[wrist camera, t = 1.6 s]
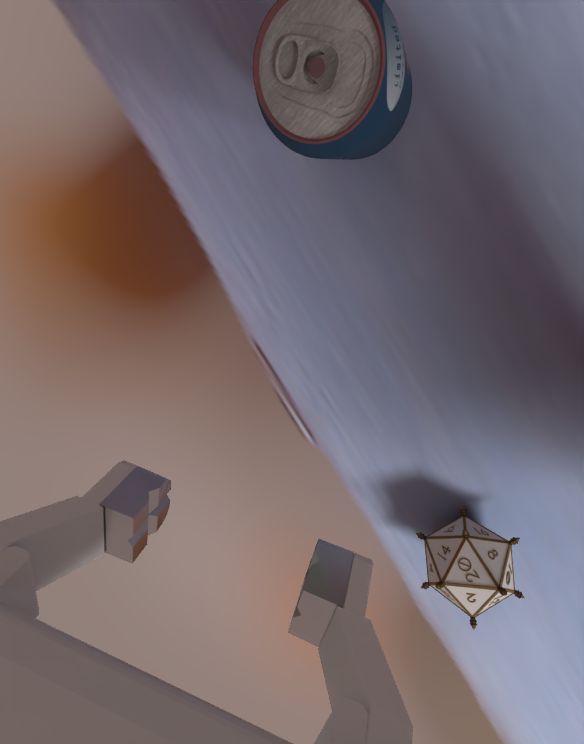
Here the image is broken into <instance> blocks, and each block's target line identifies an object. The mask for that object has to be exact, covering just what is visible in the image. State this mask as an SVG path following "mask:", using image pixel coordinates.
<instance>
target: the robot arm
mask: <svg viewBox="0 0 584 744" xmlns="http://www.w3.org/2000/svg"><path fill="white" fill-rule="evenodd" d="M170 490H171V480H169V479H167V478H164V477H162V476H160V475H158V474H155V473H153V472H151V471H148V470H146V469H143V468H141V467H139V466H136V465H134V464H132V463H129V462H127V461H121V462H119V463H118V464H117V465H115V466H114V467H113V468H112V469H111V470H110V471H109V472H108V473H107V474H106V475H105V476H104V477H103V478H102V479H101V480H100V481H99V482H98V483H96V484H95V485H94V486H93V487H92V488H91V489H90V490H89V491H88V492H87V493H86V494H85V495H84V496H83V497H82V498H81V497H79V496H75V497H72V498H69V499H66V500H63V501H60V502H57V503H54V504H52V505H48V506H45V507H42V508H39V509H37V510H34V511H30V512H28V513H25V514H22V515H18V516H15V517H13V518H9V519H7V520H4V521H1V522H0V744H292V743H290V742H288V741H286V740H284V739H282V738H280V737H278V736H276V735H274V734H272V733H270V732H268V731H266V730H264V729H262V728H260V727H258V726H255V725H253V724H251V723H249V722H247V721H245V720H243V719H241V718H239V717H237V716H235V715H233V714H231V713H229V712H227V711H225V710H223V709H220V708H219V707H216V706H214V705H212V704H210V703H208V702H206V701H204V700H202V699H200V698H198V697H196V696H194V695H192V694H190V693H188V692H186V691H184V690H181V689H180V688H177V687H175V686H173V685H171V684H169V683H167V682H165V681H163V680H161V679H159V678H157V677H155V676H153V675H151V674H149V673H147V672H144V671H142V670H140V669H138V668H136V667H134V666H132V665H130V664H128V663H126V662H124V661H122V660H120V659H118V658H116V657H114V656H112V655H110V654H108V653H106V652H104V651H101V650H99V649H97V648H95V647H93V646H91V645H89V644H87V643H85V642H83V641H81V640H79V639H77V638H75V637H73V636H71V635H68V634H66V633H64V632H62V631H60V630H58V629H56V628H54V627H52V626H50V625H48V624H46V623H44V622H42V621H40V620H38V619H36V617H37V616H38V615H39V607H38V601H37V595H36V591H37V590H39V589H41V588H43V587H45V586H46V585H48V584H50V583H52V582H54V581H56V580H58V579H59V578H61V577H63V576H65V575H67V574H69V573H71V572H72V571H74V570H76V569H78V568H80V567H82V566H84V565H86V564H87V563H89V562H91V561H93V560H95V559H97V558H98V557H100V556H102V555H104V553H108V554H110V555H113V556H115V557H117V558H120V559H122V560H125V561H127V562H130V563H133V562H134V561H135V560H136V558H137V557H138V556H139V554H140V553H141V552H142V550H143V549H144V548H145V546H146V545H147V537H148V535H150V534H153V533H155V532H157V530H158V529H159V527H160V526H161V525H162V523H163V521H164V519H165V517H166V515H167V513H168V509H169V505H170V499H169V498H168V496H167V494H168V492H169V491H170ZM372 566H373V562H372V560H371V559H369V558H366V557H364V556H361V555H359V554H356V553H353V552H352V551H350V550H347V549H344V548H342V547H339V546H337V545H334V544H331V543H328V542H326V541H323V540H321V539H318V542H317V544H316V547H315V550H314V553H313V556H312V558H311V561H310V564H309V567H308V570H307V573H306V576H305V579H304V582H303V585H302V589H301V592H300V596H299V599H298V602H297V605H296V608H295V611H294V614H293V618H292V621H291V625H290V628H289V631H288V633H290V634H292V635H294V636H297V637H299V638H301V639H303V640H305V641H307V642H309V643H311V644H313V645H315V646H318V647H319V648H318V650H319V654H320V659H321V663H322V667H323V672H324V677H325V681H326V686H327V690H328V695H329V699H330V704H331V708H332V713H331V714H330V716H329V718H328V720H327V721H326V723H325V725H324V727H323V729H322V730H321V732H320V734H319V736H318V737H317V739H316V741H315V743H314V744H412V731H413V725H412V723H411V720H410V718H409V715H408V713H407V710H406V708H405V706H404V703H403V700H402V698H401V695H400V693H399V690H398V688H397V685H396V683H395V680H394V678H393V675H392V673H391V670H390V668H389V665H388V663H387V660H386V658H385V655H384V653H383V650H382V648H381V646H380V643H379V641H378V638H377V635H376V633H375V630H374V628H373V625H372V623H371V620H369V619H367V618H365V613H366V606H367V600H368V593H369V586H370V580H371V573H372Z"/></svg>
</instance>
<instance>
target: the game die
mask: <svg viewBox="0 0 584 744" xmlns="http://www.w3.org/2000/svg"><path fill="white" fill-rule="evenodd" d="M460 511H461V514H462V516H461V517H460V518H458V519H456V520H454V521H453V522H451V523H449V524H447V525H446V526H444V527H442V528H440V529H439V530H437V531H435V532H433V533H432V534H430V535H428V536H425V535H424V534H422V532H421V533H416V534H417V536H418V538H421V539H424V541H425V552H426V563H427V574H428V582H425V583H423V585H422V587H421V588H425V589H427V588H429V586H431V587H433V588H434V589H435V590H436V591H438V592H439V593H440V594H442V595H443V596H444V597H446V598H447V599H448V600H449V601H451V602H452V603H453V604H455V605H456V606H457V607H458V608H460V609H461V610H462V611H464V612H465V613H466V614H468V615H469V616H470V617H471V619H470V624H471V626H472V628H473V629H475V627H476V625H477V624H476V622H477V621H476V620H475V617H476V616H478V615H480V614H481V613H483V612H484V611H486V610H488V609H489V608H491V607H493V606H494V605H496V604H497V603H499V602H501V601H502V600H504V599H505V598H507V597H509V596H510V595H512V594H515V596H517V597H518V598H524V596H523V595H522V592H519V591H517V590H515V586H514V573H513V561H512V548H511V545H513V544H514V545H515V544H516V543H517V544H518V541H519V539H520V538H514V537H513V538H512V539H511V540H510V541H508V540H506V539H504V538H502V537H501V536H499V535H497V534H495V533H494V532H492V531H490V530H489V529H487V528H485V527H483V526H482V525H480V524H478V523H477V522H475V521H473V520H471V519H470V518H468V517H466V514H467V513H466V511H467V510H466V509H465V508H464V506H463V507H462V509H461V510H460Z"/></svg>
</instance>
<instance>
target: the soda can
mask: <svg viewBox="0 0 584 744" xmlns="http://www.w3.org/2000/svg"><path fill="white" fill-rule="evenodd" d="M253 77H254V84H255V89H256V95H257V100H258V103H259V107H260V110H261V112H262V115H263V117H264V119H265V121H266V123H267V125H268V126H269V128H270V129H271V131H272V132H273V133H274V135H275V136H276V137H277V138H278V139H279V140H280V141H281V142H282V143H283V144H284V145H285V146H287V147H288V148H290V149H291V150H293V151H295V152H296V153H299V154H301V155H304V156H307V157H311V158H319V159H361V158H365V157H368V156H371V155H373V154H375V153H377V152H379V151H380V150H382V149H383V148H384V147H386V146H387V145H388V144H389V143H390V142H391V141H392V140H393V139H394V137H395V136H396V135H397V134H398V132H399V131H400V129H401V127H402V126H403V124H404V122H405V119H406V117H407V114H408V111H409V108H410V103H411V97H412V80H411V73H410V69H409V65H408V62H407V58H406V54H405V51H404V47H403V43H402V40H401V36H400V32H399V29H398V25H397V23H396V20H395V18H394V15H393V13H392V11H391V10H390V8H389V6H388V5H387V3H386V2H385V0H278V1H277V2H276V3H275V4H274V5H273V7H272V8H271V9H270V11H269V13H268V14H267V16H266V18H265V20H264V22H263V24H262V26H261V28H260V31H259V34H258V37H257V41H256V44H255V50H254V57H253Z"/></svg>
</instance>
